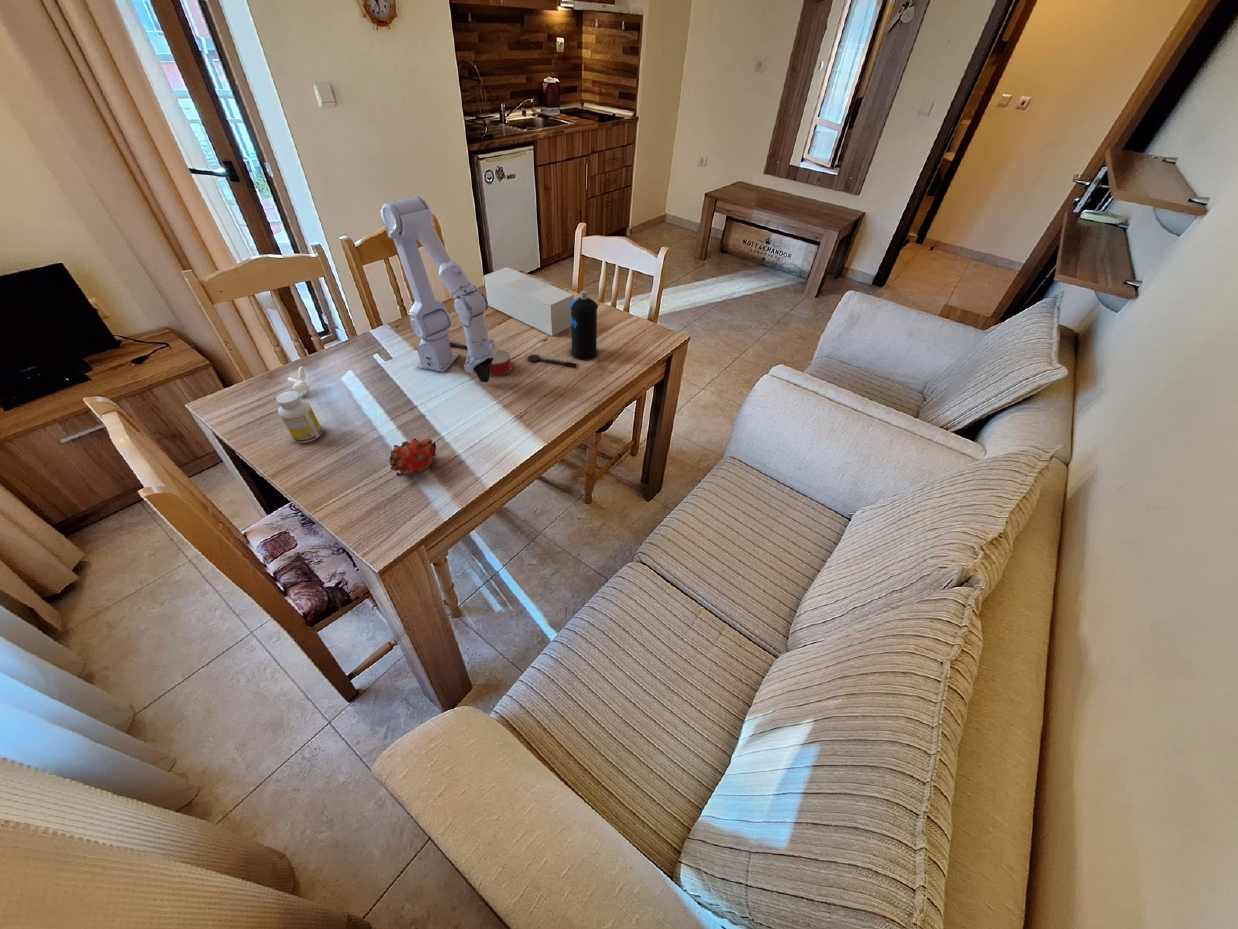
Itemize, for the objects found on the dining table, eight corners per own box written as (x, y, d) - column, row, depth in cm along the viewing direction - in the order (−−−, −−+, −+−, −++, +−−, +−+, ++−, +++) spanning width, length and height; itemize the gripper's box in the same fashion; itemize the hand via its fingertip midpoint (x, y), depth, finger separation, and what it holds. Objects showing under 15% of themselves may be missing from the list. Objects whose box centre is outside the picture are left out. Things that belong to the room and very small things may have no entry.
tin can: (505, 377, 138) (503, 365, 135) (480, 373, 139) (478, 360, 136) (515, 363, 144) (514, 351, 141) (491, 359, 145) (489, 347, 142)
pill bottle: (315, 423, 120) (295, 385, 112) (328, 434, 117) (309, 396, 109) (288, 435, 116) (266, 397, 108) (301, 447, 113) (279, 408, 105)
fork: (487, 353, 147) (487, 352, 147) (442, 346, 149) (442, 345, 149) (490, 350, 149) (490, 348, 149) (446, 342, 151) (445, 341, 151)
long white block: (574, 324, 163) (573, 294, 156) (552, 336, 157) (550, 305, 149) (510, 296, 177) (507, 266, 169) (488, 305, 170) (483, 275, 163)
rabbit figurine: (289, 400, 126) (281, 375, 128) (303, 404, 130) (295, 379, 132) (305, 389, 125) (297, 364, 127) (318, 393, 128) (310, 368, 130)
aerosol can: (598, 347, 153) (599, 286, 139) (595, 361, 147) (596, 299, 133) (573, 345, 153) (572, 284, 139) (568, 358, 147) (567, 296, 133)
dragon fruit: (392, 487, 108) (436, 464, 116) (409, 483, 102) (454, 460, 110) (373, 453, 106) (420, 432, 114) (389, 448, 100) (436, 426, 108)
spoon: (573, 369, 143) (573, 367, 143) (526, 361, 145) (526, 359, 145) (577, 363, 146) (577, 361, 145) (530, 355, 148) (530, 353, 147)
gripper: (479, 353, 119) (487, 397, 128) (502, 326, 129) (507, 369, 139) (453, 349, 120) (462, 393, 129) (478, 322, 130) (485, 365, 140)
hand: (484, 380), depth 134 cm, fingers closed
